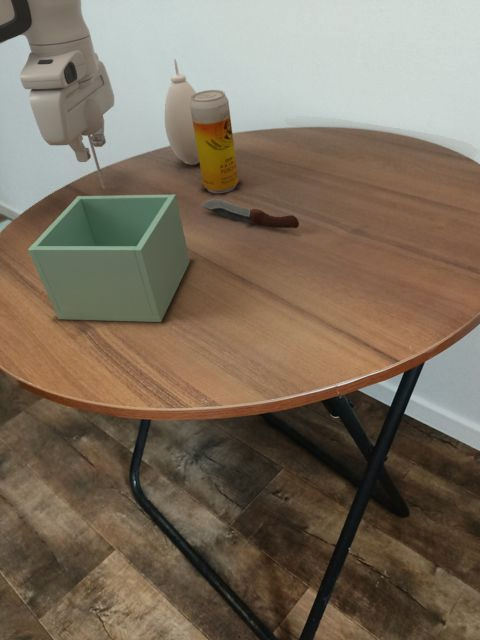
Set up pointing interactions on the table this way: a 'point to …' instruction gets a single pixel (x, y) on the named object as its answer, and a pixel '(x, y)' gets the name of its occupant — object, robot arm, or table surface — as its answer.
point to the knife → (249, 214)
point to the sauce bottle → (180, 119)
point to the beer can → (214, 140)
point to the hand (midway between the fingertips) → (92, 152)
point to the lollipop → (93, 127)
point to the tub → (113, 258)
